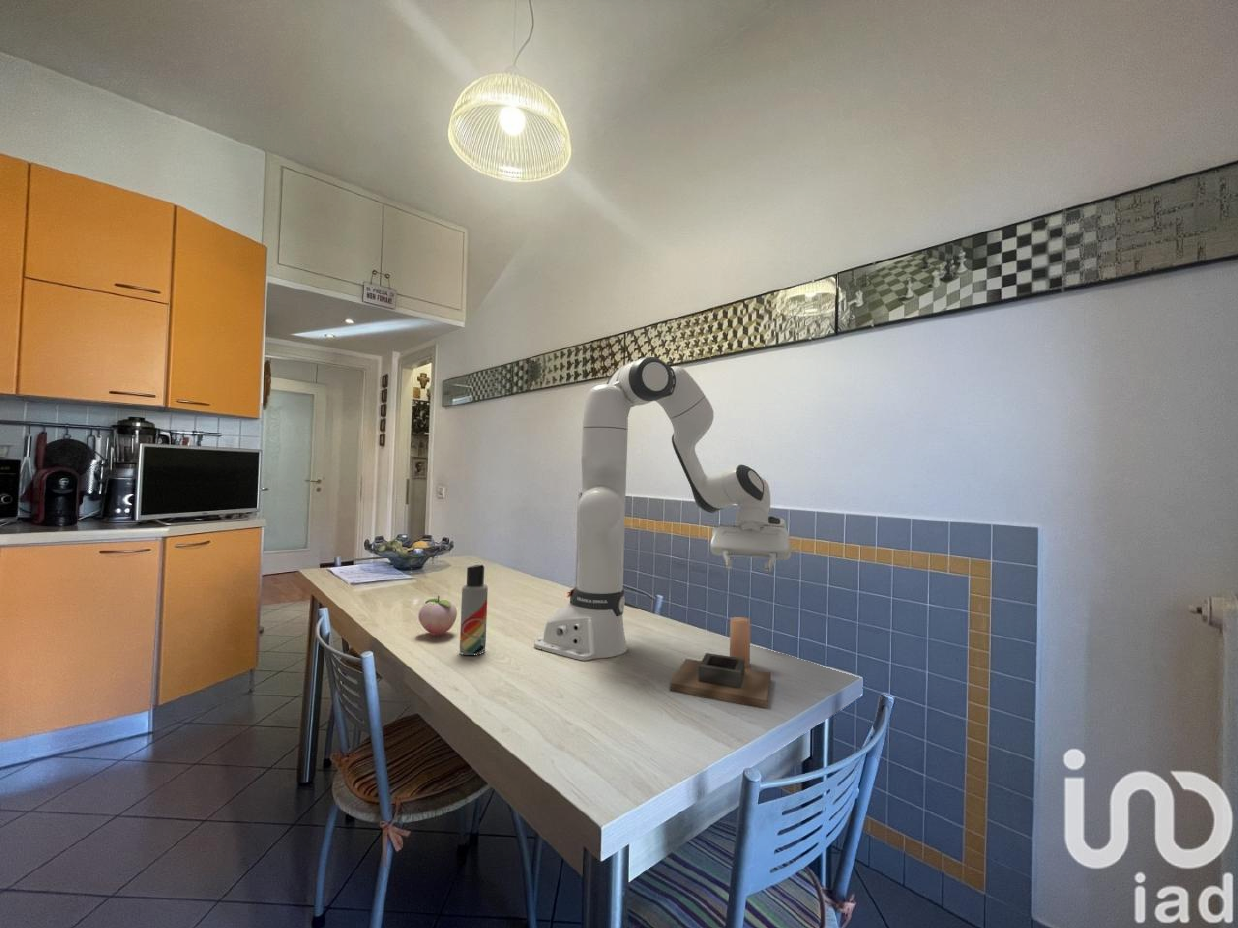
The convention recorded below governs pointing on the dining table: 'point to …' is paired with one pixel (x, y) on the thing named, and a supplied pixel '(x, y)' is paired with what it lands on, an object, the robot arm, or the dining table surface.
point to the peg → (740, 639)
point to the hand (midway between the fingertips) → (748, 568)
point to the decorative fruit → (437, 616)
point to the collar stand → (723, 680)
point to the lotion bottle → (474, 612)
